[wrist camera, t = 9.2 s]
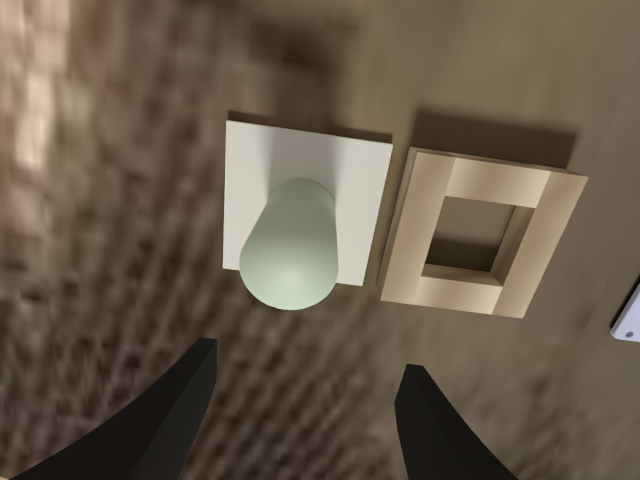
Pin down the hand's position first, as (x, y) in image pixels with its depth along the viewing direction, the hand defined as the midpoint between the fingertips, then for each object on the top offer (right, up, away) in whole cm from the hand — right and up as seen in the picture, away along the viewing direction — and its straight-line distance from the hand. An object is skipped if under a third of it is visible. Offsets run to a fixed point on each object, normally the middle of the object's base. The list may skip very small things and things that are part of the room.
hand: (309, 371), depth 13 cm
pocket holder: (+9, +5, +8) cm, 13 cm away
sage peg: (-1, +7, +7) cm, 10 cm away
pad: (-1, +7, +8) cm, 10 cm away
